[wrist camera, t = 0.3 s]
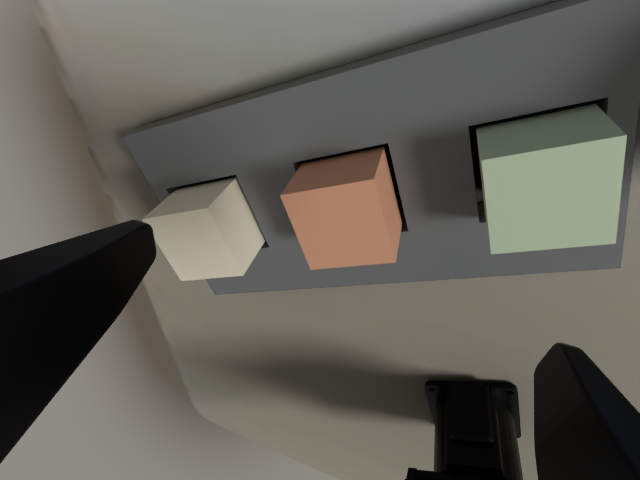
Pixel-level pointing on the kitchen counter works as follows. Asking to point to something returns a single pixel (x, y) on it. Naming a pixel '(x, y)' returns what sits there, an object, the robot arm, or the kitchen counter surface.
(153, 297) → the kitchen counter surface
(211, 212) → the cream button
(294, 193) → the terracotta button
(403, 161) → the button board
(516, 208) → the sage button
